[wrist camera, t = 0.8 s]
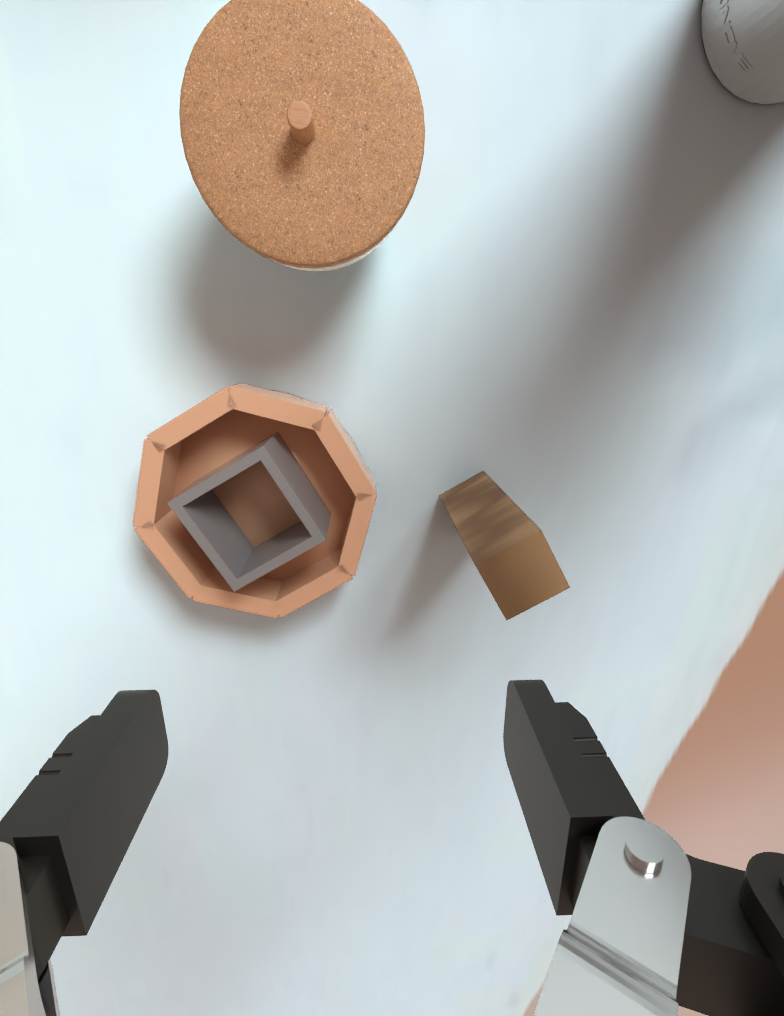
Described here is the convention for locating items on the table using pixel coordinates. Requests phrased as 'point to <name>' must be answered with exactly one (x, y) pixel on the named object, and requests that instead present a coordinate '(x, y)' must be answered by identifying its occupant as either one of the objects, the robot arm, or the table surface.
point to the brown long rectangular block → (504, 545)
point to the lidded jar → (302, 128)
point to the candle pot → (254, 500)
